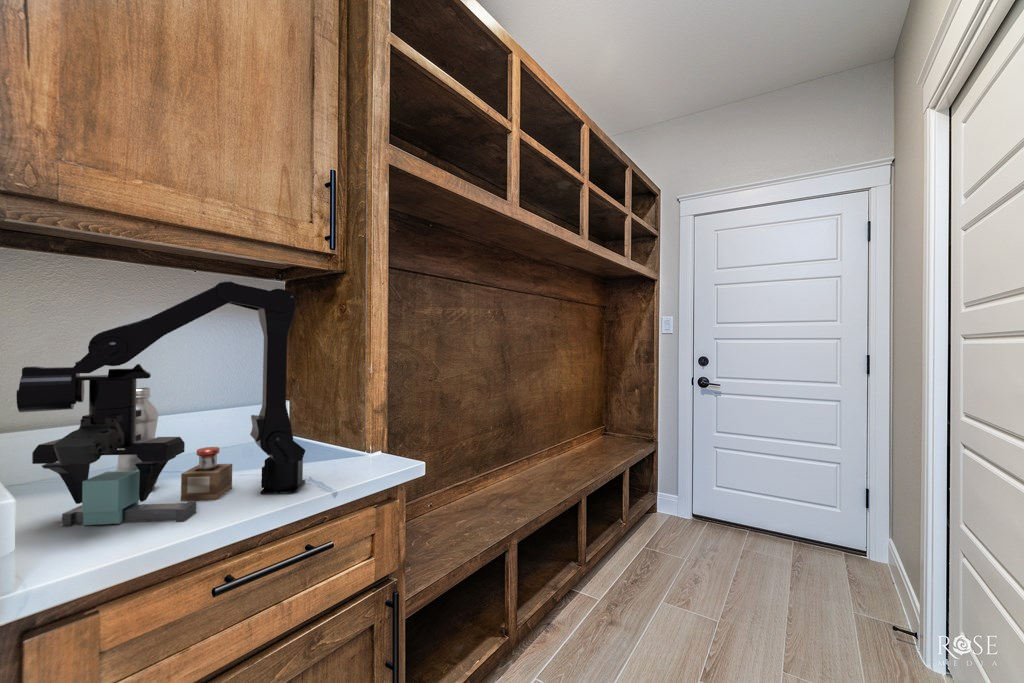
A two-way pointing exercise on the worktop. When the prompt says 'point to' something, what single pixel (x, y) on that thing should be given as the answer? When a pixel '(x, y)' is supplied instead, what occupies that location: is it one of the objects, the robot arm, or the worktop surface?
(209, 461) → the button
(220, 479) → the brown button housing
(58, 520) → the worktop surface
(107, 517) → the carriage
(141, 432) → the plastic bottle
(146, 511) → the rail
